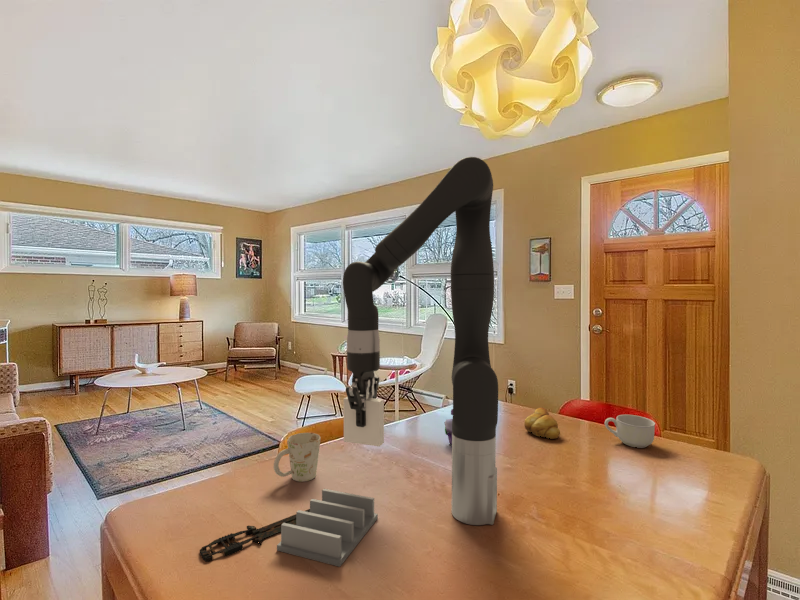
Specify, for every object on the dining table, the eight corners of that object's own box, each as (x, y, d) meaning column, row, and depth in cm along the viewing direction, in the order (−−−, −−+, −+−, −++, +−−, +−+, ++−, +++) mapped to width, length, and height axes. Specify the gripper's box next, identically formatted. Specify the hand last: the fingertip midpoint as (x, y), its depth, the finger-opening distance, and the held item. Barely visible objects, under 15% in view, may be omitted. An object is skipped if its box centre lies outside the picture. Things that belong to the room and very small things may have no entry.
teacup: (655, 442, 132) (655, 417, 132) (654, 453, 123) (655, 426, 123) (606, 434, 139) (606, 411, 139) (602, 444, 130) (603, 419, 130)
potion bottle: (441, 439, 134) (441, 402, 134) (467, 438, 135) (467, 402, 135) (447, 449, 125) (447, 410, 125) (474, 448, 126) (475, 409, 126)
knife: (321, 508, 92) (321, 501, 92) (335, 521, 86) (335, 514, 86) (197, 549, 77) (197, 541, 77) (204, 567, 71) (204, 559, 71)
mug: (326, 476, 106) (327, 437, 106) (283, 493, 97) (283, 451, 97) (308, 467, 112) (308, 430, 112) (265, 482, 103) (265, 442, 103)
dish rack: (323, 507, 91) (323, 487, 91) (377, 518, 86) (377, 497, 86) (276, 550, 75) (276, 526, 75) (339, 566, 71) (339, 540, 71)
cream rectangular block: (348, 438, 98) (348, 396, 98) (383, 442, 94) (383, 399, 94) (343, 441, 95) (343, 398, 95) (379, 446, 92) (379, 401, 92)
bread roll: (566, 440, 134) (567, 415, 134) (540, 442, 132) (540, 417, 131) (543, 427, 146) (543, 405, 146) (519, 430, 144) (519, 407, 144)
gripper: (365, 354, 87) (365, 436, 87) (389, 346, 100) (390, 417, 100) (333, 352, 89) (334, 432, 90) (361, 345, 102) (362, 414, 103)
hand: (363, 424), depth 95 cm, fingers closed on cream rectangular block, 2 cm apart
